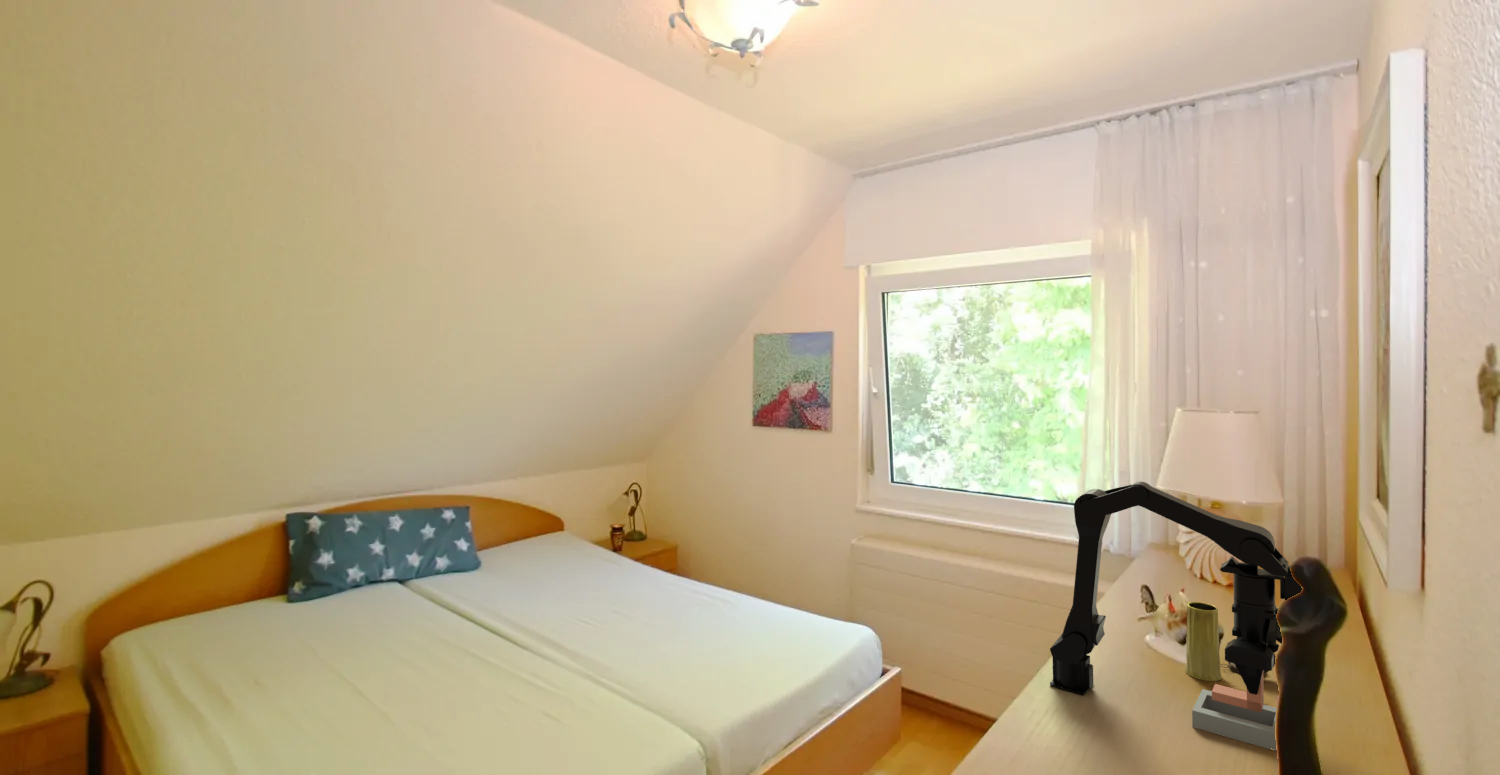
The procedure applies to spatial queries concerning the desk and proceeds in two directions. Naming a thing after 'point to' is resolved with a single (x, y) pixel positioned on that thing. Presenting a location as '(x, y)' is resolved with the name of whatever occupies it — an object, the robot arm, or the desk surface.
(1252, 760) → the desk surface
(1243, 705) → the bracket
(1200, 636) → the vase
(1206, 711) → the well block
